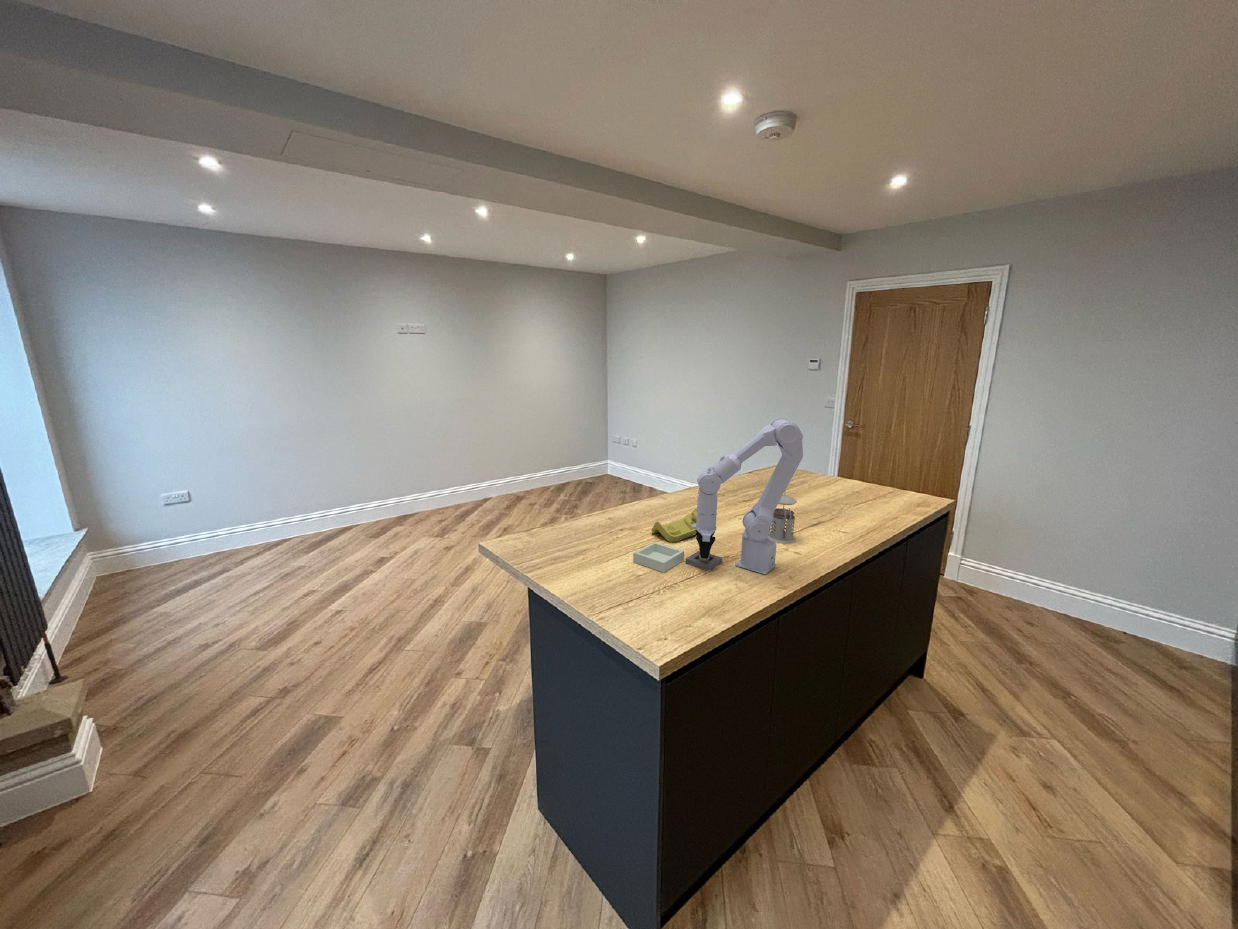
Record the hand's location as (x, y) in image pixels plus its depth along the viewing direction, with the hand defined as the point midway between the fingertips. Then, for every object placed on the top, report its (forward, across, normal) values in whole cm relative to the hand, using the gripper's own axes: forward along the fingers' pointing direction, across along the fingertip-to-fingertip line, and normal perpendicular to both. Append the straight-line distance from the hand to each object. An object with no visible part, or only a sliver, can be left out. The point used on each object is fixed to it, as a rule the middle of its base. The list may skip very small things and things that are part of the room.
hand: (704, 555), depth 138 cm
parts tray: (+2, +1, -14) cm, 14 cm away
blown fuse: (+2, 0, 0) cm, 2 cm away
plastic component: (+3, -23, -7) cm, 24 cm away
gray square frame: (+2, 0, 0) cm, 2 cm away
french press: (+3, -24, +26) cm, 36 cm away
